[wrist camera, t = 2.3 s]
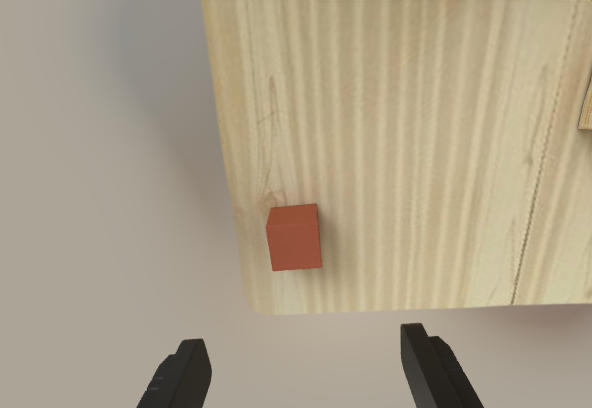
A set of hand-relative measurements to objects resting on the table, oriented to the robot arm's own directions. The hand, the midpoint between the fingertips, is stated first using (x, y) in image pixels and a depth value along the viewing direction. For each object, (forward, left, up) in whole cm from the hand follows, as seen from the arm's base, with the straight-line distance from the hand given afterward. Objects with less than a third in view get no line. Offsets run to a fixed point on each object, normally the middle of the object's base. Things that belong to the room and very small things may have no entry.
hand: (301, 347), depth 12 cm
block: (+1, -3, -18) cm, 18 cm away
